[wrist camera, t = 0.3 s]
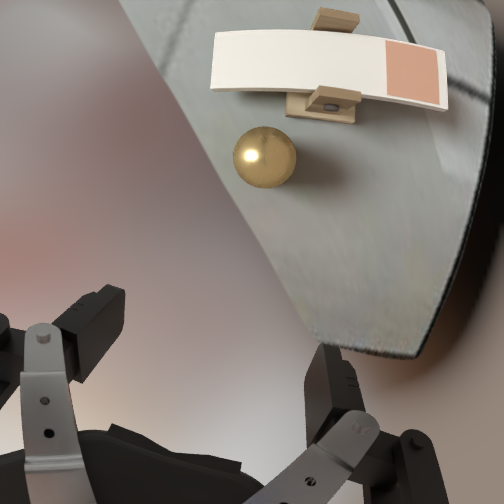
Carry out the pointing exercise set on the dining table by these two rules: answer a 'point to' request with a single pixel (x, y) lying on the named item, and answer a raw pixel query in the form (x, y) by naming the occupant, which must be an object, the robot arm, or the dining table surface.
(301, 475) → the robot arm
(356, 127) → the dining table surface
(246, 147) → the disc
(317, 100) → the pivot stand
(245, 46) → the balance beam
